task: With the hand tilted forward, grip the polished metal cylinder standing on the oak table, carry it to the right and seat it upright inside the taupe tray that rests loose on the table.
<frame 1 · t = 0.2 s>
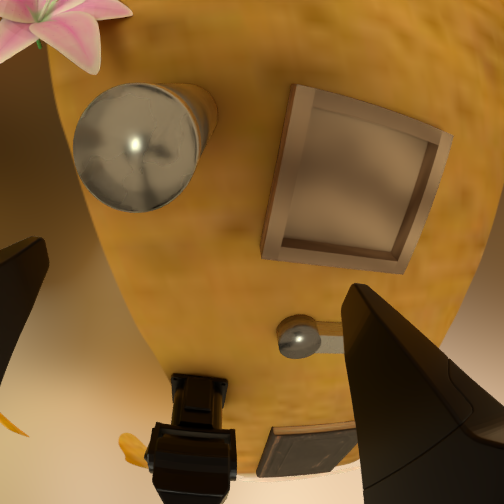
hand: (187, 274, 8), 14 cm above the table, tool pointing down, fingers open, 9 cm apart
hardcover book: (305, 447, 47), on the table
lily: (82, 13, 14), on the table
polished metal cylinder: (183, 116, 19), on the table
grey ratchet handle: (351, 331, 30), on the table
taupe tray: (353, 183, 22), on the table
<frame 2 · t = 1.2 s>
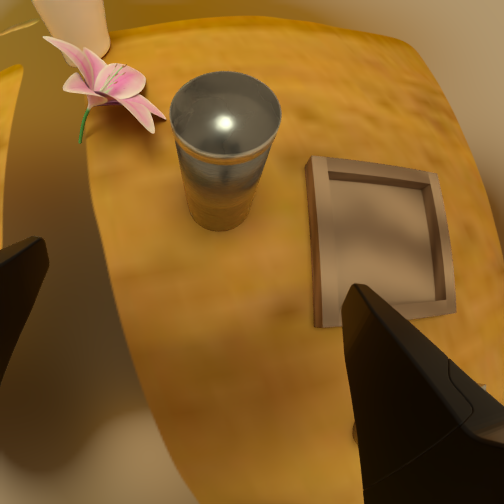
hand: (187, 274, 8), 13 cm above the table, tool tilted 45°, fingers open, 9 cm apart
lily: (120, 118, 23), on the table
polished metal cylinder: (219, 201, 23), on the table
taupe tray: (379, 244, 24), on the table
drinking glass: (89, 54, 25), on the table
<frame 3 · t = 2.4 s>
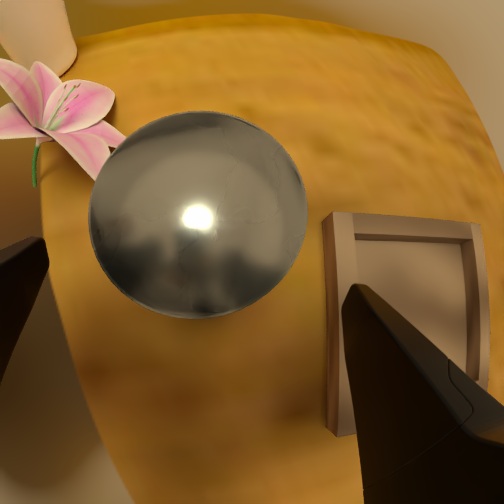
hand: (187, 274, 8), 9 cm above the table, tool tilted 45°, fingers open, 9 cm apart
lily: (83, 151, 18), on the table
polished metal cylinder: (207, 275, 17), on the table
taupe tray: (409, 318, 18), on the table
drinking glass: (53, 67, 19), on the table
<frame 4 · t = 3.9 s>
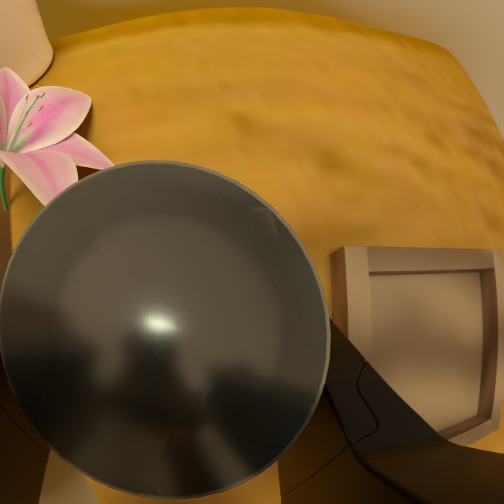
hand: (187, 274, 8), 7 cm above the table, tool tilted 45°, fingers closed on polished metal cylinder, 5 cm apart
lily: (56, 169, 15), on the table
polished metal cylinder: (195, 322, 14), on the table, touching gripper
taupe tray: (423, 358, 16), on the table
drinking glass: (28, 73, 16), on the table
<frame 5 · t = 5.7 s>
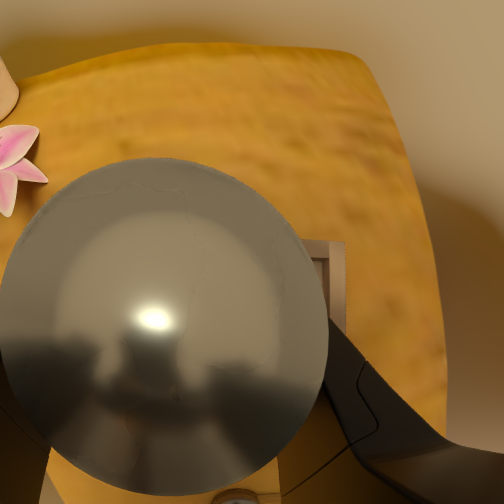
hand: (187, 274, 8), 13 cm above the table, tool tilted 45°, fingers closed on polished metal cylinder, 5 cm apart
lily: (16, 179, 21), on the table
polished metal cylinder: (195, 321, 14), point 7 cm above the table, touching gripper
grey ratchet handle: (310, 499, 19), on the table
taupe tray: (250, 330, 21), on the table
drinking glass: (3, 107, 22), on the table
when the fingers open (8 cm above the table, at t = 7.6 s): polished metal cylinder drops 1 cm, resting on taupe tray.
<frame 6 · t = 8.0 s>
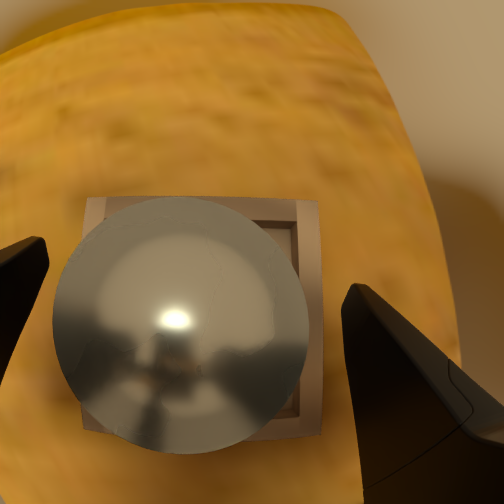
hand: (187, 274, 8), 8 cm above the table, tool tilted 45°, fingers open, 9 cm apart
polished metal cylinder: (197, 322, 16), resting on taupe tray
taupe tray: (198, 320, 16), on the table, touching polished metal cylinder
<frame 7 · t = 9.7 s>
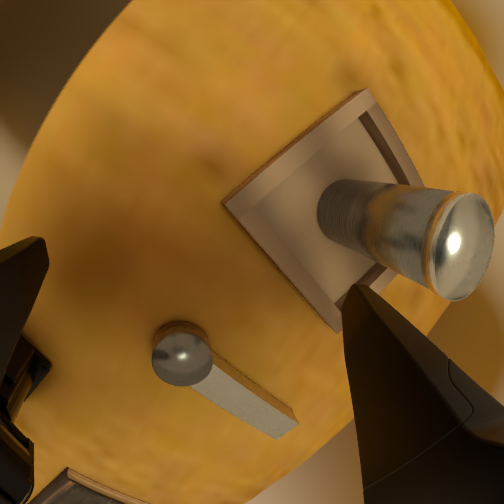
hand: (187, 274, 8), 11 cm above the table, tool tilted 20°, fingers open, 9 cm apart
polished metal cylinder: (345, 211, 21), resting on taupe tray
grey ratchet handle: (236, 387, 23), on the table
taupe tray: (341, 209, 22), on the table, touching polished metal cylinder
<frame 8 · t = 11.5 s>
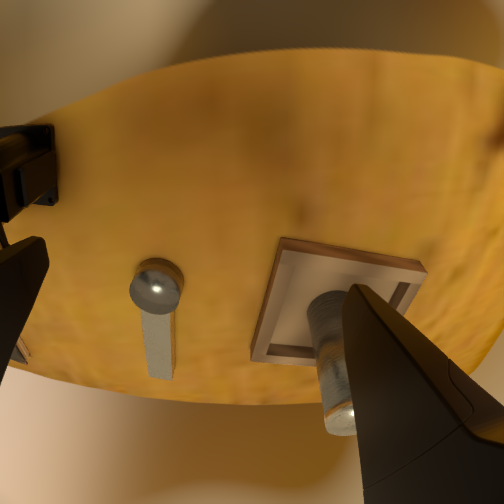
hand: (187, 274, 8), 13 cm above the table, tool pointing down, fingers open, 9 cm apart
polished metal cylinder: (332, 310, 26), resting on taupe tray
grey ratchet handle: (161, 327, 28), on the table
taupe tray: (331, 304, 27), on the table, touching polished metal cylinder
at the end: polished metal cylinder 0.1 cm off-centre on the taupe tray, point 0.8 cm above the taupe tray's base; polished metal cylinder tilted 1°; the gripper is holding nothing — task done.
